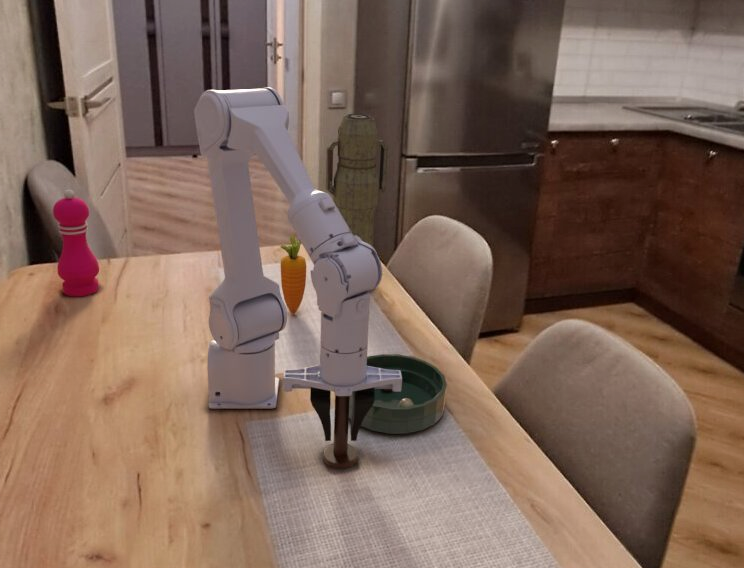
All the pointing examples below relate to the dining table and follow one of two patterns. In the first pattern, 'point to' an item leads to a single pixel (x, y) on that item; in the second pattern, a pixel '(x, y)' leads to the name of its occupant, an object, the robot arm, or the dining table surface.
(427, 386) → the bowl
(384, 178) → the thermos
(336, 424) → the stick
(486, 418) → the dining table surface
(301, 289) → the carrot
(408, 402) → the bead
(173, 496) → the dining table surface
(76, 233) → the pepper mill
